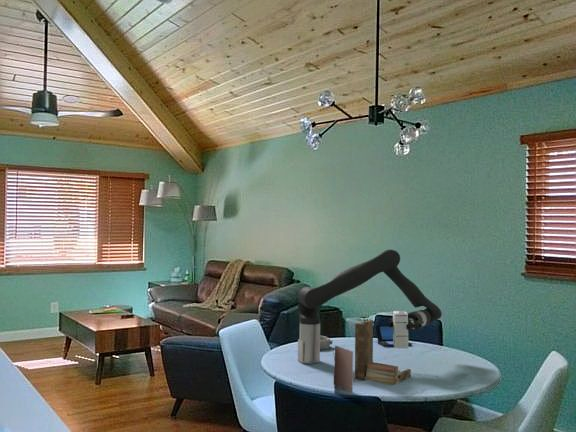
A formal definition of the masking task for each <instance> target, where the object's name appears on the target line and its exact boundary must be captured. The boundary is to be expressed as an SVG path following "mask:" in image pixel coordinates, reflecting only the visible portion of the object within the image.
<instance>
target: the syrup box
mask: <svg viewBox="0 0 576 432" xmlns="http://www.w3.org/2000/svg"><path fill="white" fill-rule="evenodd" d="M407 313H408V312H407V311H403V310H396V311H394V310H393V311H392V318H393V345H394V347H393V348H395V349H409V346H408V342H409V330H407V324H408V314H407Z"/></svg>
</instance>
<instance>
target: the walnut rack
mask: <svg viewBox="0 0 576 432" xmlns="http://www.w3.org/2000/svg"><path fill="white" fill-rule="evenodd" d="M354 327H355V329H354V331H355V332H354V333H355V335H354V339H355V341H354V379H355V380H357V381H363V382H364V381H366V372H367V365H368V364H370V363H373V362H374V361H373V360H374V359H373V358H374V354H373V353H374V350H373V349H374V319H368V320H364V321H360V322H356V323H355V326H354ZM411 373H412V369H409V368H406V369H405V370H403V371H400V375H398V378H399V383H401V382H403V381H405V380H407V379H409V378H411V377H412V374H411Z"/></svg>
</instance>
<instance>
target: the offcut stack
mask: <svg viewBox="0 0 576 432" xmlns="http://www.w3.org/2000/svg"><path fill="white" fill-rule="evenodd" d="M400 372H401V370H399V366H398V365H392V364H388V363H387V364H386V363H380V362H374V361H373V363H370V364H368V365H367V372H366V377H365V381H370V382H375V383H380V384H386V385H389V386H395V385H397V384H399V383H400V382H399V378H398V375H400Z"/></svg>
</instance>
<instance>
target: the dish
mask: <svg viewBox="0 0 576 432" xmlns="http://www.w3.org/2000/svg"><path fill="white" fill-rule="evenodd" d="M333 342H334V341H333V340H332V339H330V337H328V336H324V335H320V350H327V349H329V348H330V346H331V345H332V344H333Z"/></svg>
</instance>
